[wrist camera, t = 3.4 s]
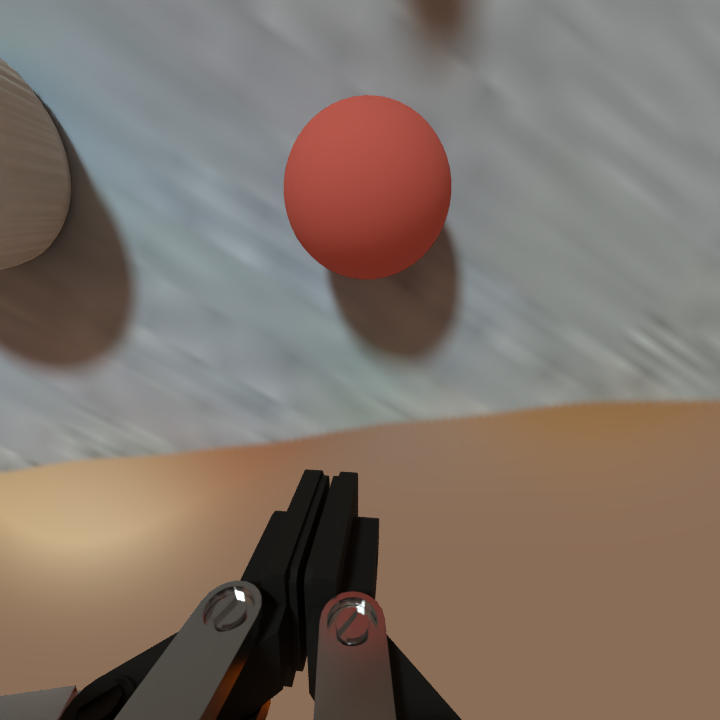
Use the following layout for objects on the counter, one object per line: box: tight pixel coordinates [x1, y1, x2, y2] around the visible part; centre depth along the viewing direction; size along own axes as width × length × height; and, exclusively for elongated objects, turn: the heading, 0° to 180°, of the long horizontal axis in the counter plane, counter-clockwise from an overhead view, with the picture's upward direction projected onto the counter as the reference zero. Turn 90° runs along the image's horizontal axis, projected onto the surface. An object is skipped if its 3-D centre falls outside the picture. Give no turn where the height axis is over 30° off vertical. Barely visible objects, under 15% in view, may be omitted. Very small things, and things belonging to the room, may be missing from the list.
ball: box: [284, 95, 451, 279], centre depth 14 cm, size 6×6×6 cm
